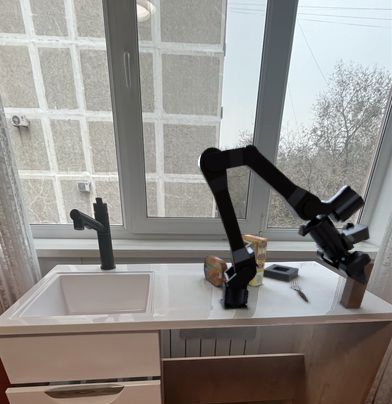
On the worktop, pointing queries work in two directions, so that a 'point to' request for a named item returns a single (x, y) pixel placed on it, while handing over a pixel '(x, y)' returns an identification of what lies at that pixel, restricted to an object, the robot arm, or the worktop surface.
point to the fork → (298, 289)
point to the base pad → (280, 272)
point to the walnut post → (355, 290)
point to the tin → (215, 270)
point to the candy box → (257, 255)
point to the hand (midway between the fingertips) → (356, 277)
